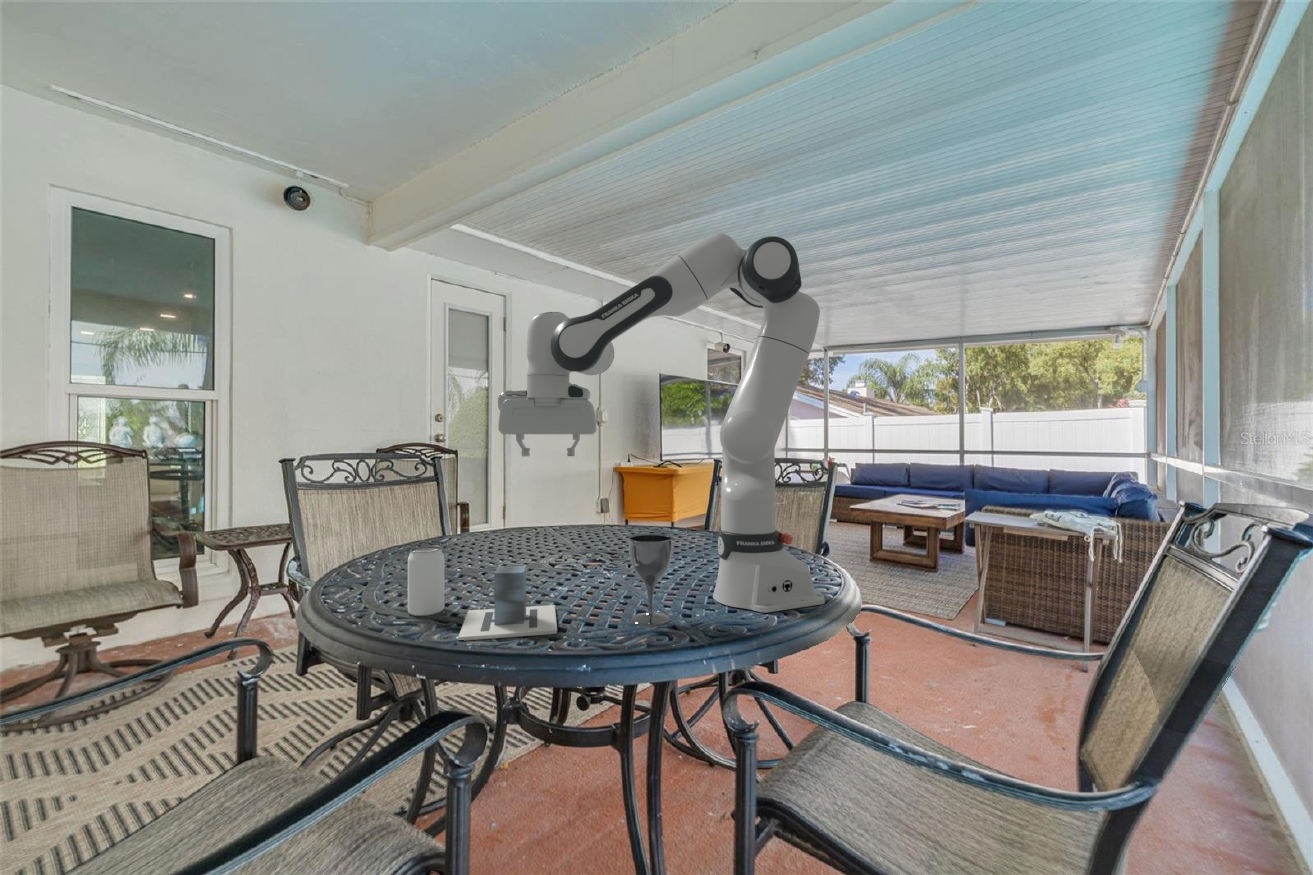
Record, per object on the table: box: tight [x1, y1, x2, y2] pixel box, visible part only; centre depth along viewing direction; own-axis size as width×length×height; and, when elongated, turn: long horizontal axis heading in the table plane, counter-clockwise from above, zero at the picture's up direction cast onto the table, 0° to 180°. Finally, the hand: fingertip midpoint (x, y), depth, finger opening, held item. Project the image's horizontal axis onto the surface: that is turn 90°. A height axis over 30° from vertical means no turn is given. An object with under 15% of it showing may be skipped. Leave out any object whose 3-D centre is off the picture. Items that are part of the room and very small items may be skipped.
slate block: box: [493, 565, 527, 625], centre depth 100 cm, size 5×5×9 cm
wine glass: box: [628, 533, 673, 627], centre depth 102 cm, size 8×8×15 cm
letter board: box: [457, 604, 558, 641], centre depth 100 cm, size 16×14×1 cm
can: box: [407, 545, 445, 617], centre depth 106 cm, size 6×6×12 cm
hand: (548, 456), depth 118 cm, fingers open, 8 cm apart
